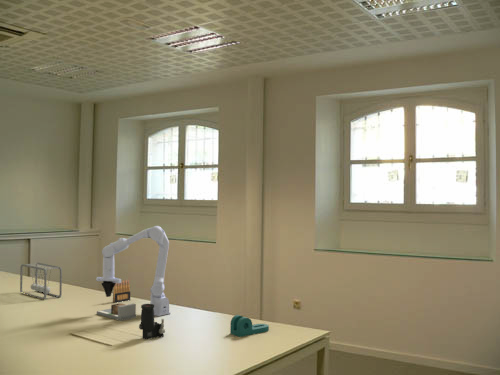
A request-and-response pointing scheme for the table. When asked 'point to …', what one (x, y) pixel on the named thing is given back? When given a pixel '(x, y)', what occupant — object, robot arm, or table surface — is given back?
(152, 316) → the scope
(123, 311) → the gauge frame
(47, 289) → the newton's cradle
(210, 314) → the table surface
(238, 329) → the bracket
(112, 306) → the block
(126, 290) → the ammunition clip
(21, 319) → the table surface
